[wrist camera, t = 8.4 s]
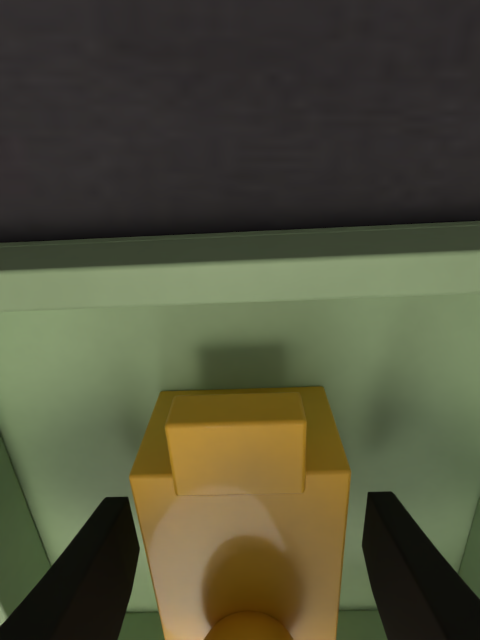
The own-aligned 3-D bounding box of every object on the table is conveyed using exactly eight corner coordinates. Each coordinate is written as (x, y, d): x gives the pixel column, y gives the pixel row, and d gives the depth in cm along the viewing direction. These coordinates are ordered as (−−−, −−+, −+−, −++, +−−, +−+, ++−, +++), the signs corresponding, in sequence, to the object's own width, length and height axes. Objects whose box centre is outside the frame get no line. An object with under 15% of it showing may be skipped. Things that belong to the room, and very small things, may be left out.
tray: (575, 216, 9) (705, 240, 6) (459, 606, 15) (502, 699, 12) (-83, 246, 9) (-204, 280, 7) (59, 610, 15) (22, 700, 13)
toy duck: (152, 346, 10) (57, 540, 5) (325, 341, 10) (407, 534, 5) (189, 578, 13) (156, 820, 9) (314, 577, 13) (353, 822, 8)
